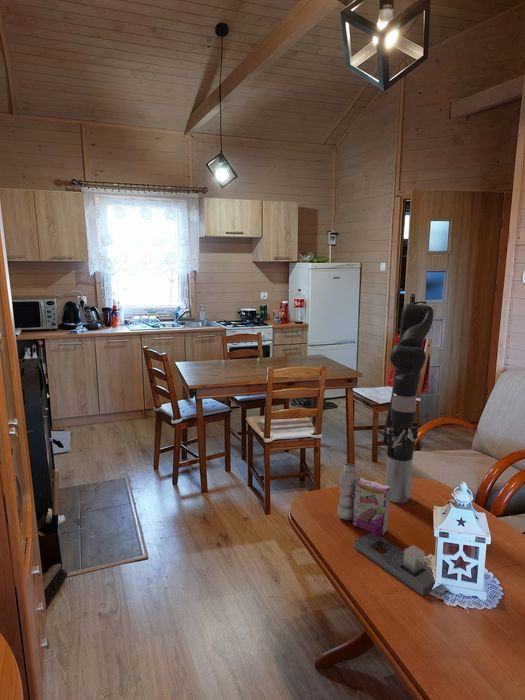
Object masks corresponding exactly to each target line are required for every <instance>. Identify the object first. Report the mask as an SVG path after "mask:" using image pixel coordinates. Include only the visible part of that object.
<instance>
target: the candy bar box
mask: <svg viewBox="0 0 525 700" xmlns="http://www.w3.org/2000/svg"><path fill="white" fill-rule="evenodd" d="M390 490H391V487H389V486H386V485H385V484H382V483H379V482H375V481H372V480H369V479H366V478H363V477H359V478H358V481H356V482H355V492H354V505H353V518H352V520H351V526H353V527H356V528H358V529H362V530H365V531H367V532H368V533H369V532H370V533H372V532H375V533H377V534H378V535H380V536H381V537H383V536H384V535H385V533H386V532H387V530H388V523H389V522H388V521H389V510H390V502H391V501H390Z"/></svg>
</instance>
